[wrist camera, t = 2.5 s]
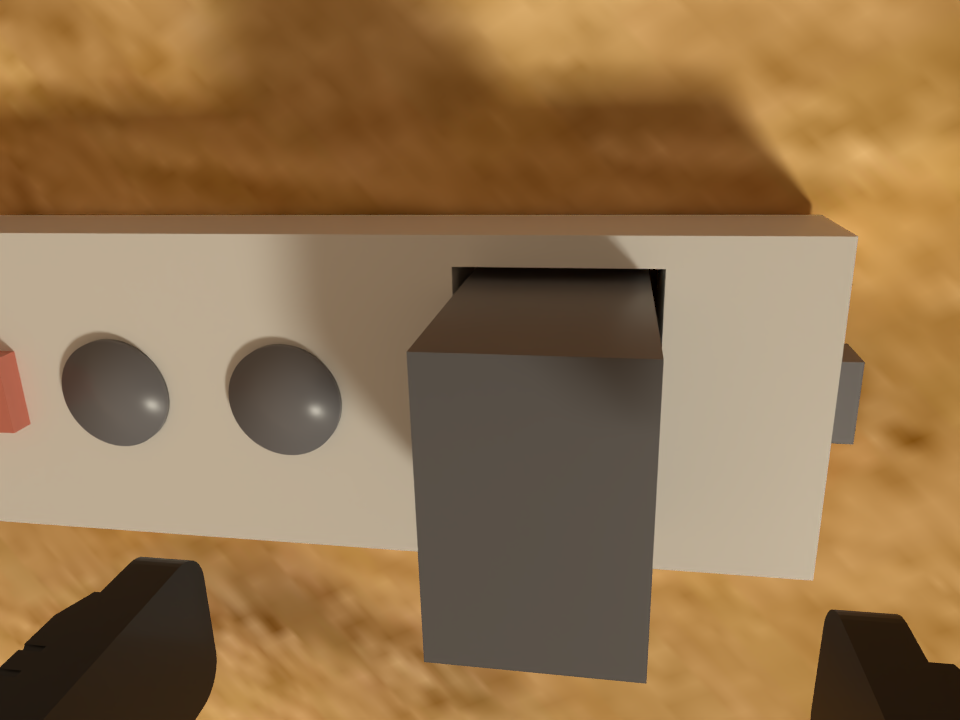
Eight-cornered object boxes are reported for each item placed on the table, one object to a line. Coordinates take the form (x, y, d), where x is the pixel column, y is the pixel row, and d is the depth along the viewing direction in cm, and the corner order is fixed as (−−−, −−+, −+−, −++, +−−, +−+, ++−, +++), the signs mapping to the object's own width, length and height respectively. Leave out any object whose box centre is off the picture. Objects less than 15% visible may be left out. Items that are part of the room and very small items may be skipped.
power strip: (858, 214, 18) (911, 242, 15) (818, 516, 21) (857, 599, 17) (-5, 214, 22) (-117, 236, 19) (52, 470, 25) (-38, 530, 21)
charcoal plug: (646, 255, 19) (663, 359, 12) (636, 474, 21) (646, 683, 14) (486, 255, 20) (406, 351, 12) (491, 467, 22) (424, 662, 14)
